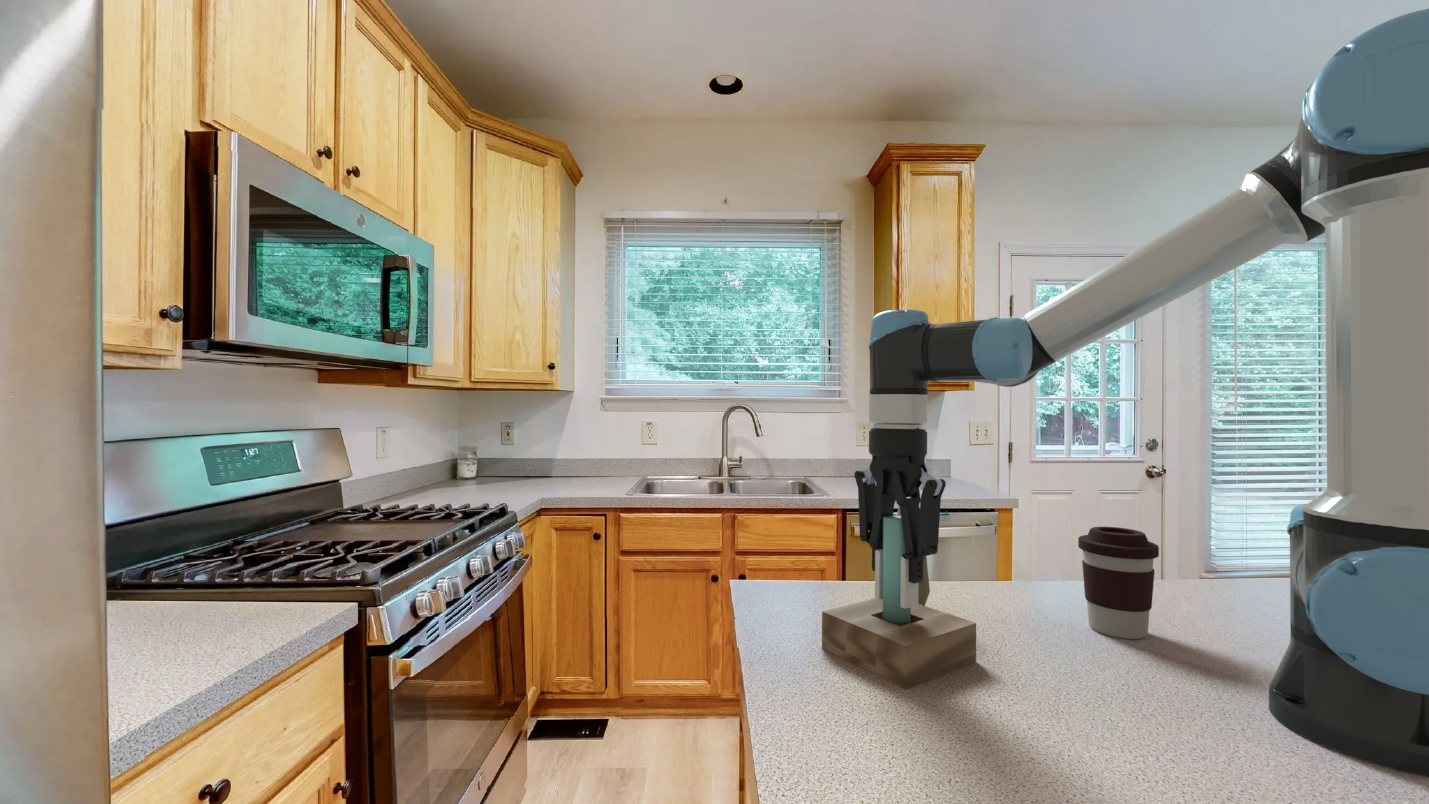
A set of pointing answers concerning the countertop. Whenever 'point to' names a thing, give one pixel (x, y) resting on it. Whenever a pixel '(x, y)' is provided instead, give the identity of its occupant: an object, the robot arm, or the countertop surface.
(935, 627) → the bore block
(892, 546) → the pin
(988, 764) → the countertop surface
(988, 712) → the countertop surface
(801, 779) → the countertop surface
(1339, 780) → the countertop surface
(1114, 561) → the coffee cup
